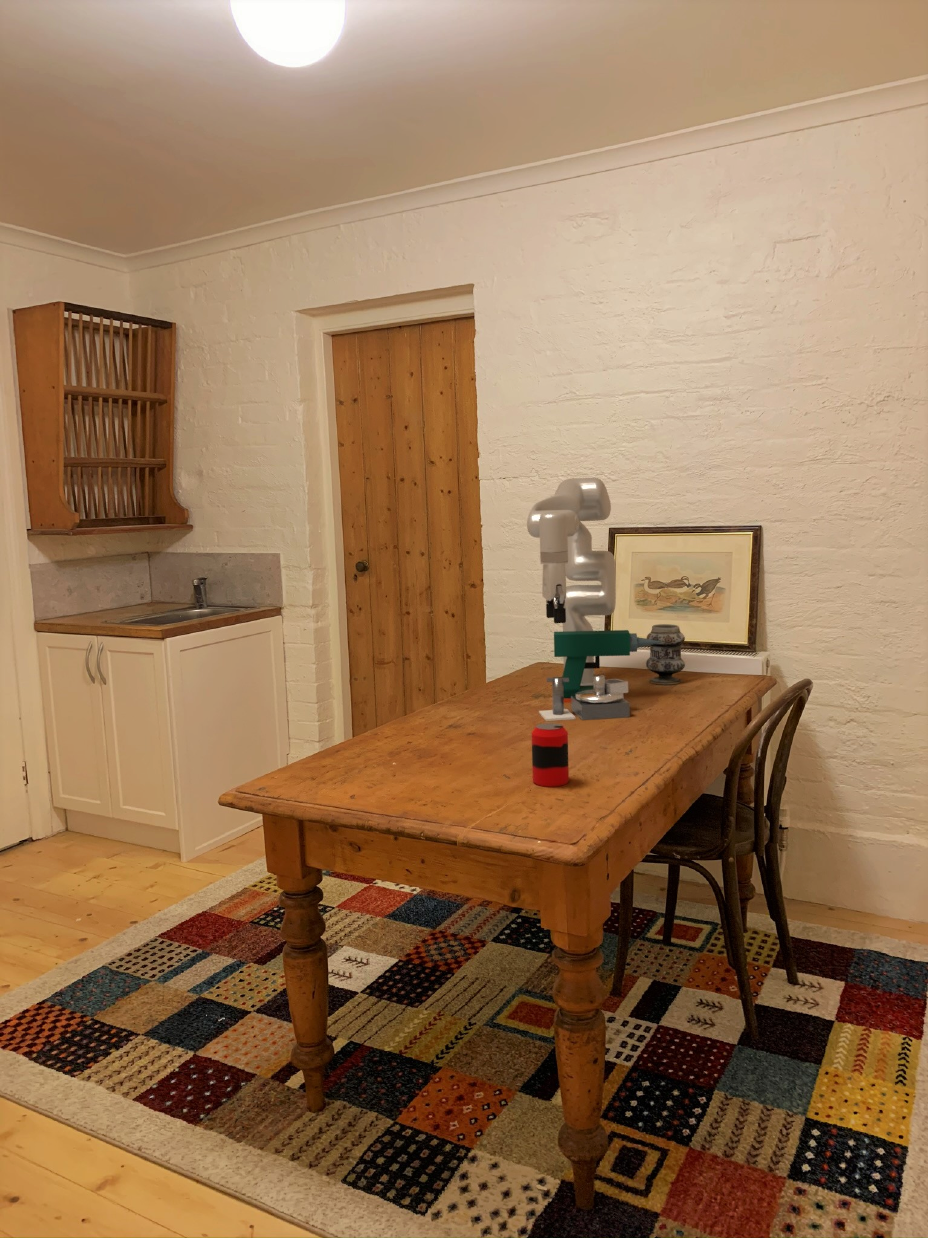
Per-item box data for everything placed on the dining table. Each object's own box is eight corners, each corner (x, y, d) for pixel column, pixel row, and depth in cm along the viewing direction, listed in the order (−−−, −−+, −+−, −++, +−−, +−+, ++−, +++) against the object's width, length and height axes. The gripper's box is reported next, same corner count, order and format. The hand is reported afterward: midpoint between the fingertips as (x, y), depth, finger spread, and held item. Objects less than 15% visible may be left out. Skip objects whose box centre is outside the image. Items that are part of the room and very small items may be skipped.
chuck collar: (566, 696, 264) (566, 675, 264) (607, 690, 271) (607, 669, 270) (593, 704, 253) (593, 682, 252) (636, 698, 259) (635, 676, 258)
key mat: (539, 713, 265) (538, 710, 265) (567, 711, 266) (567, 709, 266) (546, 721, 255) (546, 718, 255) (575, 719, 256) (575, 717, 256)
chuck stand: (571, 709, 268) (570, 695, 267) (616, 707, 269) (616, 693, 269) (582, 720, 255) (581, 705, 254) (629, 717, 256) (629, 702, 256)
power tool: (662, 696, 281) (661, 629, 279) (664, 701, 275) (664, 632, 272) (553, 697, 285) (552, 631, 282) (553, 702, 278) (551, 634, 275)
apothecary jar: (688, 685, 296) (688, 627, 294) (649, 686, 296) (649, 629, 294) (680, 677, 308) (680, 622, 306) (643, 679, 308) (642, 623, 306)
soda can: (563, 788, 196) (562, 731, 195) (528, 785, 199) (526, 729, 197) (572, 778, 203) (571, 723, 202) (538, 775, 206) (536, 721, 204)
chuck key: (547, 712, 262) (546, 676, 261) (569, 712, 262) (568, 676, 261) (547, 715, 260) (546, 679, 258) (569, 715, 259) (568, 678, 258)
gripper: (534, 556, 267) (536, 616, 270) (547, 561, 250) (549, 626, 253) (560, 554, 268) (562, 614, 270) (575, 560, 251) (576, 624, 253)
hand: (556, 620), depth 261 cm, fingers open, 9 cm apart
